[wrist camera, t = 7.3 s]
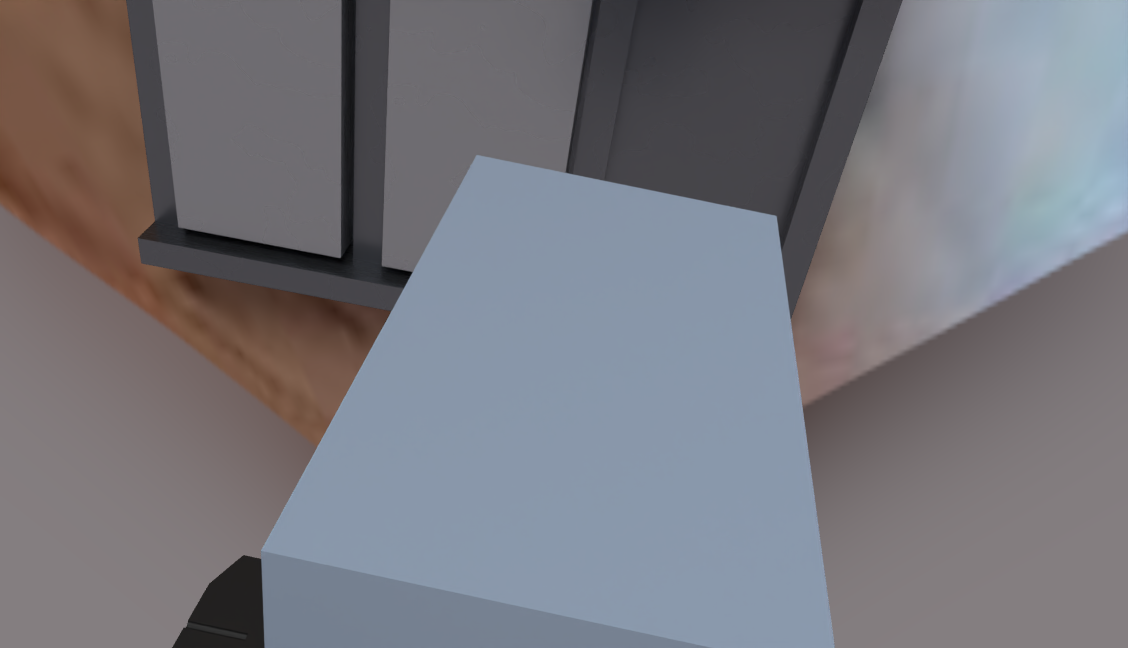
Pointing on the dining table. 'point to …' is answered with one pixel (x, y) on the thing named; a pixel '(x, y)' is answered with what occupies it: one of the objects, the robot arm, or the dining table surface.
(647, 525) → the pale blue rectangular prism
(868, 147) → the dining table surface
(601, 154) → the rack
